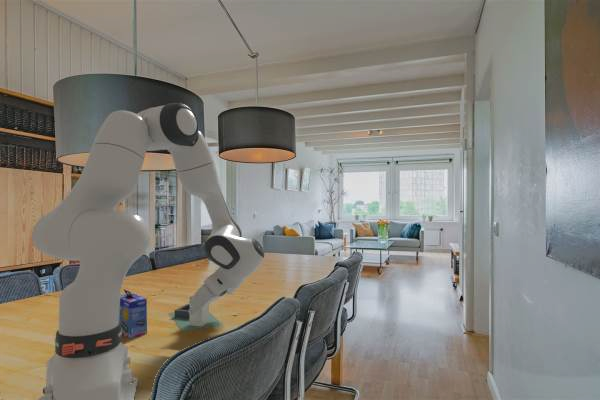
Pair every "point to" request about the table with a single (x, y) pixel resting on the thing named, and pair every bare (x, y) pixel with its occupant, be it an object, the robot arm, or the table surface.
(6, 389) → the table surface
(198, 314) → the plug
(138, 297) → the ink cartridge box
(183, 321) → the board
